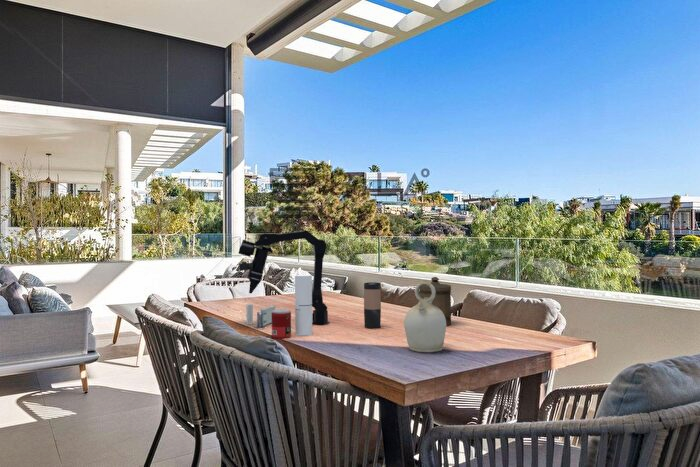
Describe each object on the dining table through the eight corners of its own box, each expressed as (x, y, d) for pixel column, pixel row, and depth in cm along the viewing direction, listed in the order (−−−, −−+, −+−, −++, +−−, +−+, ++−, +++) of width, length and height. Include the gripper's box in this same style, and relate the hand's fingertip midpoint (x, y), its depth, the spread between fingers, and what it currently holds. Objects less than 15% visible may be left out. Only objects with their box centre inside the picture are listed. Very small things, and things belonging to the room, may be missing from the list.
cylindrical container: (309, 336, 212) (309, 276, 212) (293, 335, 213) (292, 276, 213) (314, 332, 219) (313, 274, 219) (298, 332, 220) (297, 274, 220)
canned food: (289, 339, 207) (289, 312, 207) (270, 339, 207) (269, 312, 207) (292, 335, 214) (292, 309, 214) (273, 335, 215) (273, 309, 215)
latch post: (253, 323, 241) (253, 304, 241) (247, 324, 240) (247, 305, 240) (249, 321, 247) (249, 303, 247) (244, 322, 246) (244, 303, 246)
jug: (418, 342, 199) (417, 278, 199) (454, 348, 189) (453, 280, 189) (396, 349, 187) (395, 281, 187) (433, 356, 177) (432, 284, 177)
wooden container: (457, 323, 238) (457, 276, 238) (438, 328, 227) (438, 279, 227) (431, 320, 248) (431, 275, 248) (412, 324, 238) (412, 277, 238)
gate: (263, 325, 233) (263, 309, 233) (260, 325, 234) (260, 309, 233) (275, 320, 244) (275, 305, 244) (272, 320, 244) (272, 305, 244)
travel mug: (381, 325, 234) (381, 282, 234) (380, 329, 226) (380, 284, 226) (364, 325, 235) (364, 282, 234) (363, 328, 227) (363, 284, 227)
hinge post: (266, 327, 232) (266, 311, 232) (260, 328, 229) (260, 313, 229) (259, 326, 234) (259, 311, 234) (253, 328, 231) (253, 312, 231)
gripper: (243, 254, 244) (234, 285, 243) (242, 255, 225) (232, 289, 224) (266, 260, 245) (257, 291, 245) (266, 262, 227) (256, 296, 226)
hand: (250, 292), depth 235 cm, fingers open, 9 cm apart
